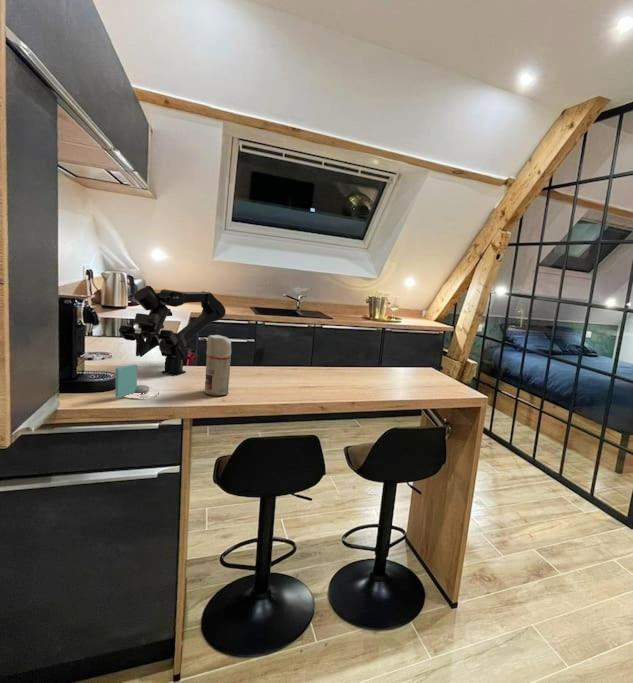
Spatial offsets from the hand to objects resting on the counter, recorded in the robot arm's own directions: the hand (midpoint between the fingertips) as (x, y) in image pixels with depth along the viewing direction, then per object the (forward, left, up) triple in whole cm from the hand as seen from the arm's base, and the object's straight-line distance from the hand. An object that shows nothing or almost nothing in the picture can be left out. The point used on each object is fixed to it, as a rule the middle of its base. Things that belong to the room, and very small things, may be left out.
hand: (138, 356), depth 133 cm
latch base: (+4, +5, -11) cm, 13 cm away
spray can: (-11, +23, -11) cm, 28 cm away
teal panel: (+7, +5, -10) cm, 13 cm away
